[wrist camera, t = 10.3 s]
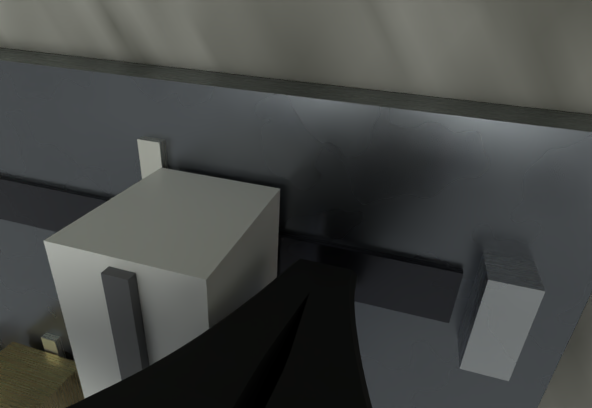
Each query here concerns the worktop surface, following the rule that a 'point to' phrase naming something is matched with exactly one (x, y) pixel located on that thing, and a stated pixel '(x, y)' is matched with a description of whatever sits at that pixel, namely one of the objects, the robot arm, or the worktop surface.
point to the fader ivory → (160, 268)
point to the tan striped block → (37, 379)
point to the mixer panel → (326, 208)
